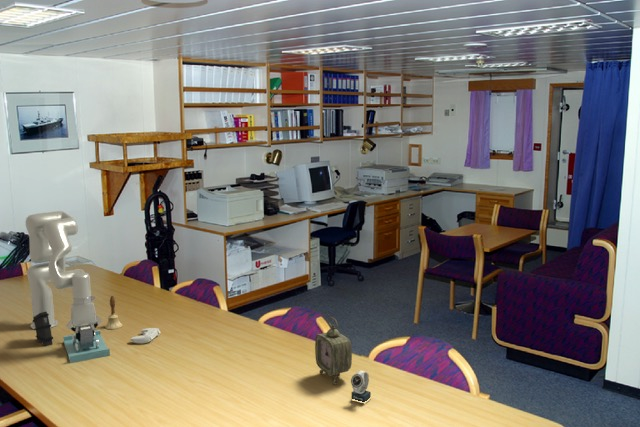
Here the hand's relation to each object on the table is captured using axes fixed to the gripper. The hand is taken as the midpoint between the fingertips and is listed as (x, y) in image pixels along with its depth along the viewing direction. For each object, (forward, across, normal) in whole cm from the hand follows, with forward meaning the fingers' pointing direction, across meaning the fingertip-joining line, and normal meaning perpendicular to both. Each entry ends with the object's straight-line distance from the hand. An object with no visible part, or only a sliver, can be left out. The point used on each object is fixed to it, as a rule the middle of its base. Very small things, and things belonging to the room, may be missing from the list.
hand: (85, 338), depth 258 cm
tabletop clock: (+5, -82, +81) cm, 115 cm away
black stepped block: (+5, +16, -19) cm, 25 cm away
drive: (+2, 0, 0) cm, 2 cm away
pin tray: (+5, 0, 0) cm, 5 cm away
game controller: (+5, -26, +2) cm, 27 cm away
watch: (+5, -81, +102) cm, 130 cm away
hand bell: (+5, -16, -23) cm, 29 cm away
